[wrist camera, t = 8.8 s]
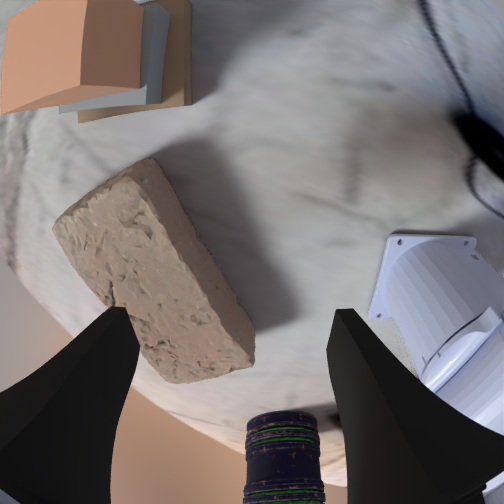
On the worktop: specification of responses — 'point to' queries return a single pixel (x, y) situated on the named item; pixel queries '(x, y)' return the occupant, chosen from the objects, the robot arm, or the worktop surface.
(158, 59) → the grey flat square block
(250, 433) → the storage jar
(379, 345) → the robot arm
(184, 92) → the tower base
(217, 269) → the brick
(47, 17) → the terracotta block
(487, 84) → the worktop surface
